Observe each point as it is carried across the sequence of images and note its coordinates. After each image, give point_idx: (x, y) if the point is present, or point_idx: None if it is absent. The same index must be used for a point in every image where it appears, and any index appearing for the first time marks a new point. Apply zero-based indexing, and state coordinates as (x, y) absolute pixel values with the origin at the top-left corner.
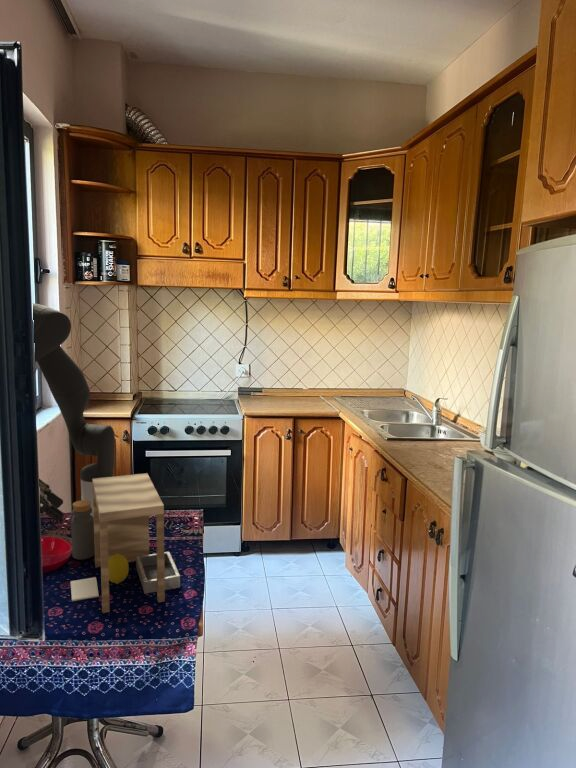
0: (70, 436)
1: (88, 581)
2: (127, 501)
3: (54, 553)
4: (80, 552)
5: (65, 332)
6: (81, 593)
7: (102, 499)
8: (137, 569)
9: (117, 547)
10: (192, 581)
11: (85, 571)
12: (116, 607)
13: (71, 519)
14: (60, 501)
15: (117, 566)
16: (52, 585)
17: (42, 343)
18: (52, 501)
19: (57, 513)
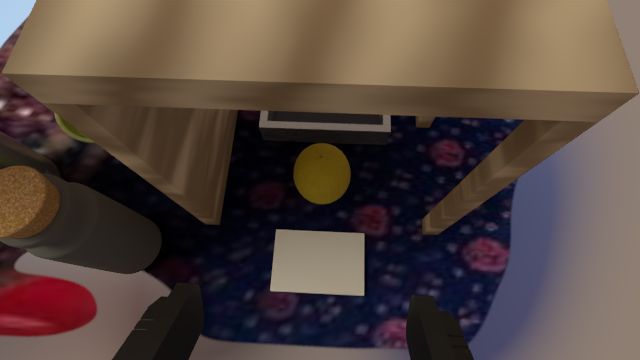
0: None
1: (290, 248)
2: None
3: (78, 321)
4: (148, 251)
5: None
6: (342, 270)
7: (410, 59)
8: (281, 139)
9: (215, 156)
10: None
11: (228, 250)
12: (422, 204)
13: (40, 256)
14: (193, 301)
15: (348, 169)
16: (263, 338)
17: None
18: (180, 357)
19: (463, 339)
